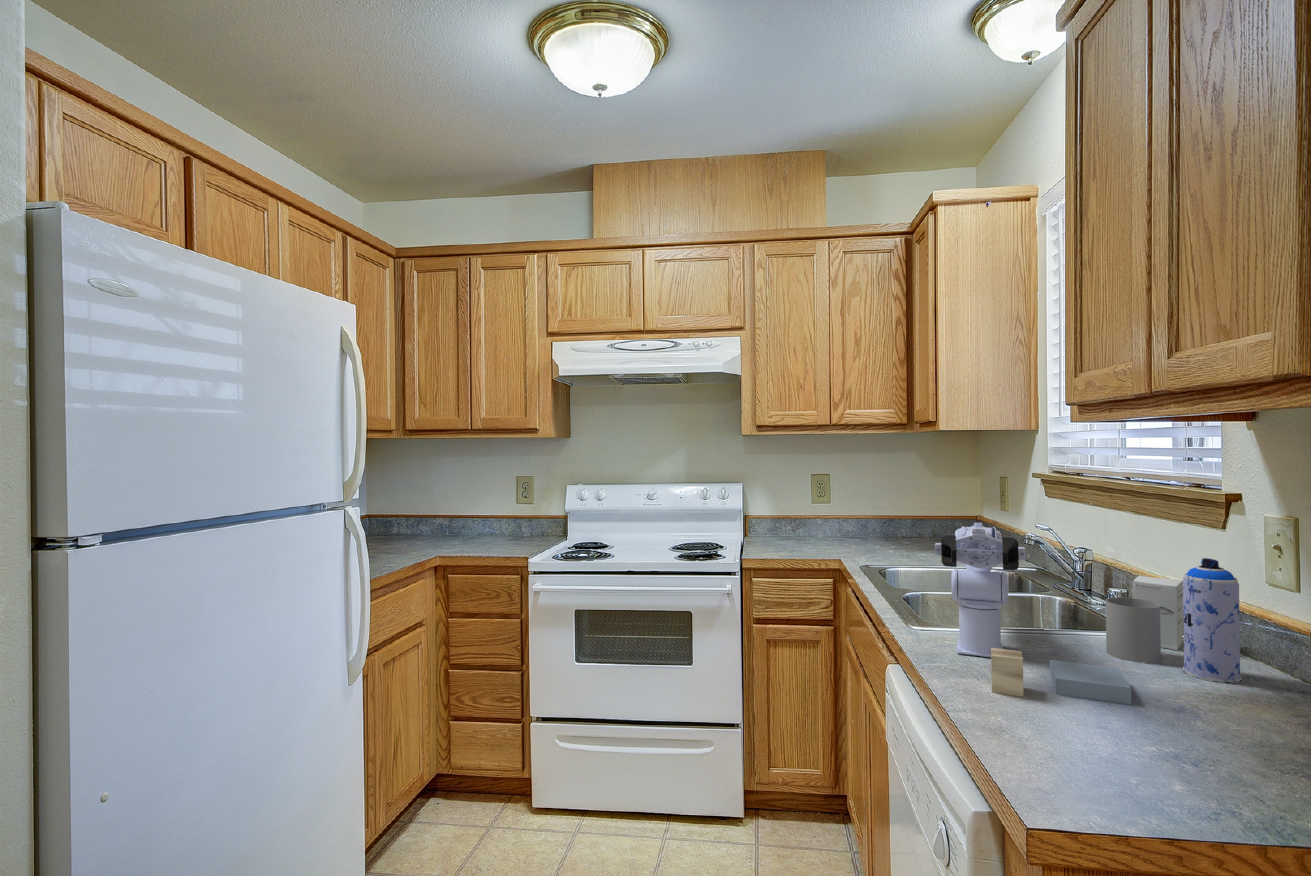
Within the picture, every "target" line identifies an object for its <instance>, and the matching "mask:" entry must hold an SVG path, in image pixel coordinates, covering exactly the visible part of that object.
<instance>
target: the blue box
mask: <svg viewBox="0 0 1311 876" xmlns="http://www.w3.org/2000/svg"><path fill="white" fill-rule="evenodd" d="M1049 676H1050V679H1051V683H1052V685H1053V689H1054V692H1055V695H1058V696H1065V697H1074V698H1079V699H1088V700H1094V701H1103V702H1108V701H1109V703H1110V702H1111V703H1116V704H1123V705H1130V706H1131V705H1132V687H1131V686H1130V683H1129V682H1128V681H1127V678H1126V677H1125V675H1124V674H1123V672H1122V671H1121V669H1120V668H1119V667H1113V666H1107V665H1106V666H1105V665H1096V664H1087V663H1080V662H1073V661H1072V662H1070V661H1063V660H1054V659H1050V660H1049Z"/></svg>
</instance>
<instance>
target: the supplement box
mask: <svg viewBox="0 0 1311 876" xmlns="http://www.w3.org/2000/svg"><path fill="white" fill-rule="evenodd" d="M1132 598H1135V599H1142V600H1147V601H1152V602H1155V603H1157V604H1159V605H1160V635H1161V649H1162V648H1163V649H1169V650H1173V651H1178V650H1179V648H1180V647H1181V646H1182V644H1183V639H1184V614H1183V580H1178V579H1170V578H1169V579H1168V578H1160V577H1153V576H1145V575H1144V576H1143V575H1138V576H1137V577H1135V579H1133V581H1132Z"/></svg>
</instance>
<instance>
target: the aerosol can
mask: <svg viewBox="0 0 1311 876" xmlns="http://www.w3.org/2000/svg"><path fill="white" fill-rule="evenodd" d="M1200 564H1201V565H1197V566H1195V567H1192V568H1190V569H1189V570H1187V572H1186V573H1184V574H1183V578H1182V581H1183V666H1182V672H1183V671H1184V672H1185V674H1186V673H1187V674H1186V675H1188V676H1190V675H1191V677H1192V676H1194V677H1193V678H1195V677H1197V678H1196V679H1199V680H1203V681H1207V680H1212V681H1218V682H1217V683H1219V682H1238V683H1240V682H1239V681H1240V680H1242V679H1243V678H1242V675H1241V645H1240V644H1241V640H1240V639H1241V637H1240V636H1241V635H1240V633H1241V629H1240V626H1241V625H1240V584H1239V582H1238V581H1239V580H1238V578H1237V577H1235V576H1234V575H1233V574H1232V572H1230V571H1229V570H1226V569H1225V568H1224V567H1220V565H1219V560H1216V559H1213V558H1208V557H1207V558H1205V557H1204V558H1201V561H1200ZM1212 681H1211V682H1212ZM1242 681H1243V680H1242Z"/></svg>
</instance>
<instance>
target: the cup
mask: <svg viewBox="0 0 1311 876" xmlns="http://www.w3.org/2000/svg"><path fill="white" fill-rule="evenodd" d="M1105 632H1106V633H1105V634H1106V635H1105V636H1106V637H1105V638H1106V639H1105V642H1106V643H1105V645H1106V649H1105V651H1106V654H1107V655H1109V656H1111V657H1113V658H1116V659H1119V660H1123V661H1128V662H1132V663H1133V662H1134V663H1142V662H1155V663H1158V661H1159V662H1161V661H1160V660H1162V654H1161V652H1162V651H1161V650H1162V647H1161V635H1160V605H1159V604H1157V603H1155V602H1152V601H1147V600H1142V599H1135V598H1133V597H1124V596H1123V597H1121V596H1116V597H1108V598H1105Z"/></svg>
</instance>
